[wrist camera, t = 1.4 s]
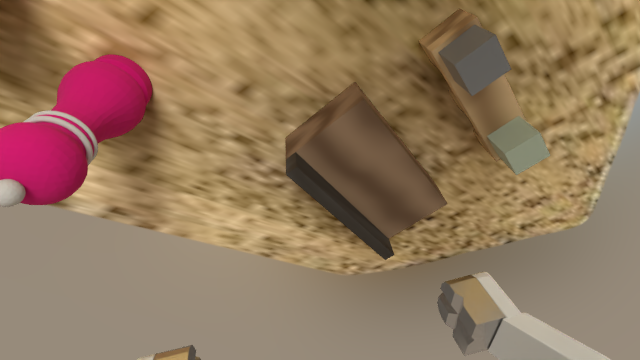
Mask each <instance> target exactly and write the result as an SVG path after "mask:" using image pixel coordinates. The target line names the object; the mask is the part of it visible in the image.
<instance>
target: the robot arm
mask: <svg viewBox="0 0 640 360" xmlns="http://www.w3.org/2000/svg"><path fill="white" fill-rule="evenodd" d="M441 290H442V291H443V293H442V294H441V295H440V296H439V297H438V302H437V303H438V308H439V312H440V314H441V317H442V319H443V320H444V322H445V324H446V325H448V326H449V327H451V328H452V329H453V338H454V339H455V341H456V343H457V344H458V346H459V348H460V349H461V351H462V353H463V355H464V356H465V355H469V354H473V353H477V352H481V351H485V350H488V352H490V353H491V354H492V355H494V356H495V357H496V358H498V359H499V360H610V359H609V358H608V357H606V356H604V355H602V354H600V353H599V352H597V351H595V350H593V349H591V348H589V347H588V346H586V345H584V344H582V343H580V342H579V341H576V340H575V339H573V338H571V337H569V336H568V335H566V334H564V333H562V332H560V331H558V330H557V329H555V328H553V327H551V326H549V325H547V324H546V323H544V322H542V321H540V320H538V319H537V318H535V317H533V316H531V315H529V314H527V313H521V312H520V311H519V309H518V308H517V307H516V306H515V305H514V304H513V302H512V301H511V300H510V299H509V297H508V296H507V295H506V294H505V292H504V291H503V290H502V289H501V288H500V286H499V285H498V284H497V283H496V282H495V280H494V279H493V278H492V277H491V275H490V274H488V273H487V272H480V273H476V274H473V275H468V276H464V277H460V278H457V279H453V280H449V281H445V282H444V283H442V285H441ZM195 355H196V350H195V348H194V347H193V345H190V346H186V347H182V348H178V349H174V350H170V351H166V352H162V353H156V354H153V355H149V356H145V357H141V358H138V359H137V360H201V359H200V358H199V357H196V356H195Z"/></svg>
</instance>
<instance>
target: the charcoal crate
mask: <svg viewBox="0 0 640 360" xmlns="http://www.w3.org/2000/svg"><path fill="white" fill-rule="evenodd" d="M438 53H439V55H440V57H441V58H442V60H443V62H444V63H445V65H446V67H447V69H448V70H449V72H450V74H451V75H452V77H453V79H454V81H455V82H456V83H457V84H458V85H460V86H461V87H462V88H463V89H464V90H465V91H467V92H468V93H469V94H470V95H471V96H473V95H475V94H476V93H478V92H479V91H480V90H482V89H483V88H485V87H486V86H488V85H489V84H491V83H492V82H493V81H495V80H496V79H498V78H499V77H501V76H502V75H504V74H505V73H506V72H508V71H509V70H511V68H510V65H509V63H508V61H507V59H506V57H505V54H504V52H503V50H502V48H501V46H500V43H499V41H498V39H497V37H496V35H495V34H493V33H491V32H489V31H487V30H485V29H483V28H481V27H479V26H477V25H473V26H472V27H471V28H469V29H468V30H467V31H465V32H464V33H463V34H461V35H460V36H459V37H458V38H456V39H455V40H454V41H452V42H451V43H450V44H448V45H447V46H446V47H444V48H443V49H442V50H441V51H439V52H438Z"/></svg>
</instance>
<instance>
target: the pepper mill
mask: <svg viewBox="0 0 640 360" xmlns="http://www.w3.org/2000/svg"><path fill="white" fill-rule="evenodd" d="M151 96H152V85H151V82H150V79H149V77H148V76H147V74H146V73H145V71H144V70H143V69H142V68H141V67H140V66H139V65H138V64H136V63H135V62H133V61H132V60H130V59H128V58H126V57H123V56H119V55H104V56H101V57H99V58H97V59H96V60H94V61H90V62H84V63H81V64H79V65H76V66H74V67H73V68H72V69H71V70H70V71H69V72H68V73H67V74H66V75H65V76H64V77H63V79H62V80H61V83H60V85H59V88H58V93H57V105H56V106H55V107H54V108H53V109H52V110H51V111H41V112H38V113H35V114H34V115H32V116H31V117H30V118H29V119H27V120H25V121H24V122H22V123H14V124H11V125H8V126H5V127H3V128H1V129H0V206H2V207H10V206H14V205H16V204H18V203H24V204H29V205H47V204H52V203H56V202H59V201H61V200H63V199H66V198H68V197H69V196H71V195H72V194H73V193H74V192H75V191H76V190H78V189H79V188H80V187H81V185H82V184H83V182H84V180H85V178H86V176H87V171H88V165H89V164H90V163H91V161H92V160H93V159H94V158H95V157H96V155H97V152H98V143H99V142H101V141H103V140H105V139H109V138H113V137H118V136H121V135H123V134H125V133H127V132H129V131H130V130H132V129H133V128H134V127H135V126H136V125H137V124H138V123H139V122H140V121H141V120H142V118H143V116H144V113H145V108H146V105H147V103H148V102H149V101H150V99H151Z"/></svg>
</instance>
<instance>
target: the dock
mask: <svg viewBox="0 0 640 360" xmlns="http://www.w3.org/2000/svg"><path fill="white" fill-rule="evenodd" d="M286 175H287V176H288V177H290V178H291V179H292V180H293V181H294V182H295V183H297V184H298V185H299V186H300V187H301V188H302V189H303V190H305V191H306V192H307V193H308V194H309V195H310V196H312V197H313V198H314V199H315V200H316V201H317V202H319V203H320V204H321V205H322V206H323V207H324V208H325V209H327V210H328V211H329V212H330V213H331V214H332V215H334V216H335V217H336V218H337V219H338V220H339V221H341V222H342V223H343V224H344V225H345V226H346V227H348V228H349V229H350V230H351V231H352V232H353V233H354V234H356V235H357V236H358V237H359V238H360V239H361V240H363V241H364V242H365V243H366V244H367V245H368V246H370V247H371V248H372V249H373V250H374V251H375V252H377V253H378V254H379V255H380V256H381V257H382V258H383V259H385V260H386V259H388V258H390V257H391V256H393V255H394V253H393V250H392V247H391V244H390V241H389V238H391V237H392V236H394V235H396V234H397V233H399V232H401V231H402V230H404V229H406V228H408V227H409V226H411V225H413V224H414V223H416V222H418V221H419V220H421V219H423V218H424V217H426V216H428V215H429V214H431V213H433V212H435V211H436V210H438V209H440V208H441V207H443V206H445V205H446V204H447V202H446V201H445V199H444V197H443V196H442V194H441V192H440V191H439V189H438V187H437V186H436V184H435V182H434V181H433V180H432V178H431V177H430V176H429V175H428V173H427V172H426V171H425V170H424V168H423V167H422V166H421V165H420V163H419V162H418V161H417V160H416V158H415V157H414V156H413V154H412V153H411V152H410V151H409V149H408V148H407V147H406V146H405V144H404V143H403V142H402V141H401V139H400V138H399V137H398V136H397V134H396V133H395V132H394V130H393V129H392V128H391V127H390V125H389V124H388V123H387V122H386V120H385V119H384V118H383V117H382V115H381V114H380V113H379V112H378V110H377V109H376V108H375V106H374V105H373V104H372V103H371V101H370V100H369V99H368V98H367V96H366V95H365V94H364V93H363V91H362V90H361V89H360V88H359V86H358V85H357V84H356V82H354V83H353V84H352V85H350V86H349V87H348V88H347V89H346V90H344V91H343V92H342V93H341V94H339V95H338V96H337V97H336V98H334V99H333V100H332V101H331V102H329V103H328V104H327V105H326V106H324V107H323V108H322V109H321V110H319V111H318V112H317V113H316V114H315V115H313V116H312V117H311V118H310V119H308V120H307V121H306V122H305V123H303V124H302V125H301V126H300V127H298V128H297V129H296V130H295V131H293V132H292V133H291V134H290V135H289V136H287V137H286Z"/></svg>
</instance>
